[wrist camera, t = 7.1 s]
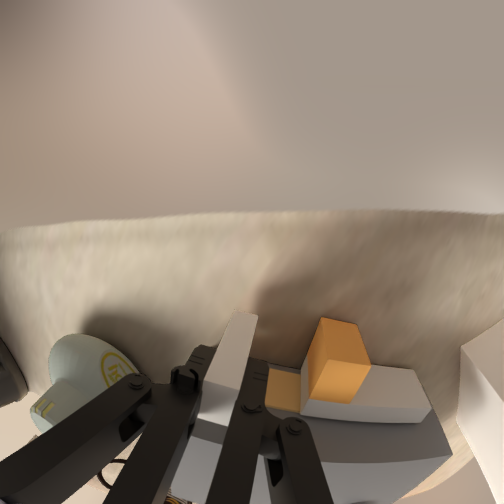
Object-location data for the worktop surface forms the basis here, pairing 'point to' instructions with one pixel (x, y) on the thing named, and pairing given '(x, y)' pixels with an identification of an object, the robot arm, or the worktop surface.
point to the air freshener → (78, 377)
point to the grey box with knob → (327, 451)
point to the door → (356, 381)
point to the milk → (484, 403)
